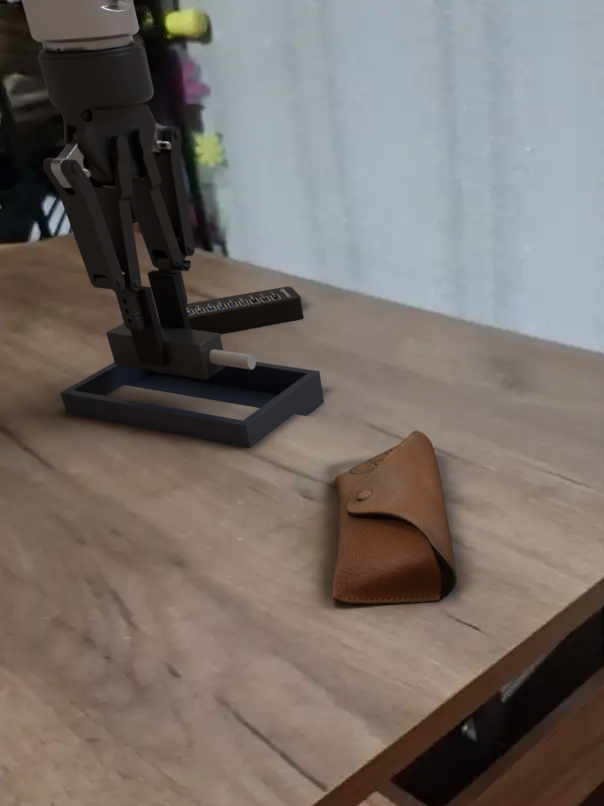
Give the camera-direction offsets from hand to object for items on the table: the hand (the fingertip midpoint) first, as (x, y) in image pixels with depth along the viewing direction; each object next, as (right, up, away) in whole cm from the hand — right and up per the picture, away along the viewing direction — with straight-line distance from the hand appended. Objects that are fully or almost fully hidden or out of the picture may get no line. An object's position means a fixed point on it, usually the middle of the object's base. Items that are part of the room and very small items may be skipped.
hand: (167, 354), depth 84 cm
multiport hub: (+1, +9, +20) cm, 22 cm away
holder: (+2, -5, +3) cm, 6 cm away
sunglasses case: (+21, -18, -14) cm, 31 cm away
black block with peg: (+2, -1, 0) cm, 2 cm away
